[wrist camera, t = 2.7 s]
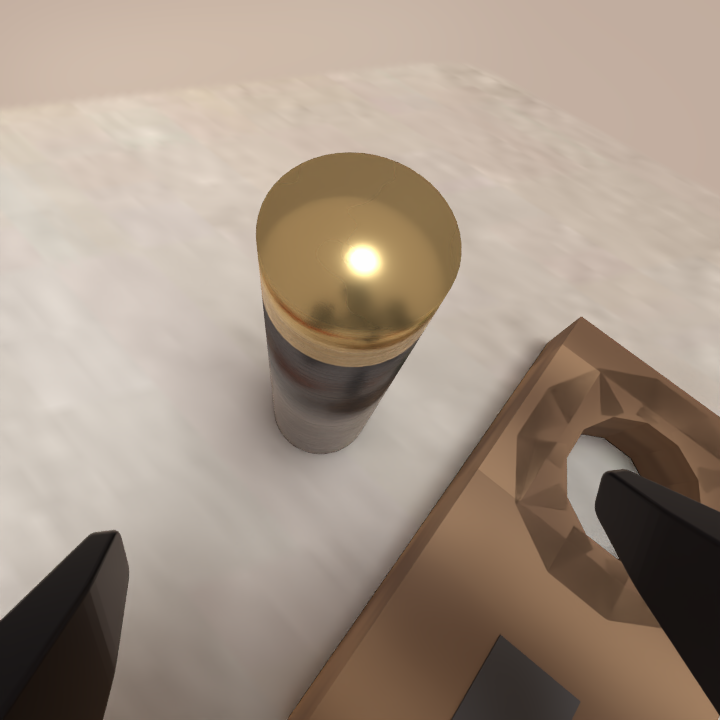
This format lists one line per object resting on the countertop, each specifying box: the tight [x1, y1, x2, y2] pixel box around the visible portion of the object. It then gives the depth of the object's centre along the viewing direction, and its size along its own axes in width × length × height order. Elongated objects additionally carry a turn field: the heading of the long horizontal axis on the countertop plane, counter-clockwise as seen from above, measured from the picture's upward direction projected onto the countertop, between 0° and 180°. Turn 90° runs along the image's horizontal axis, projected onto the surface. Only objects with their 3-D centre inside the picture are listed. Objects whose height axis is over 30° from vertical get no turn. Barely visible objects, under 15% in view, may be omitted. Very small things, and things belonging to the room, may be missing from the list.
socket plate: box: [287, 317, 720, 720], centre depth 19 cm, size 19×11×3 cm, turn 142°
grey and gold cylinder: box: [256, 152, 461, 454], centre depth 16 cm, size 4×4×13 cm
